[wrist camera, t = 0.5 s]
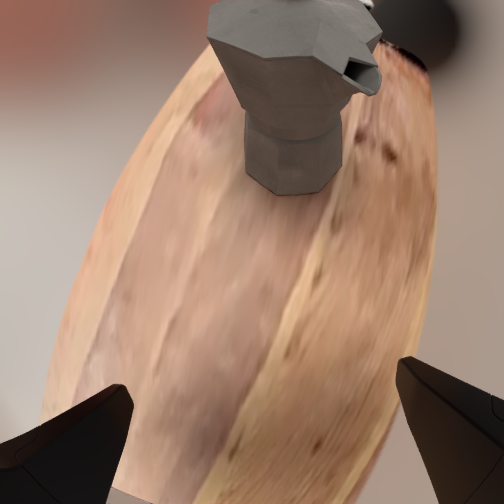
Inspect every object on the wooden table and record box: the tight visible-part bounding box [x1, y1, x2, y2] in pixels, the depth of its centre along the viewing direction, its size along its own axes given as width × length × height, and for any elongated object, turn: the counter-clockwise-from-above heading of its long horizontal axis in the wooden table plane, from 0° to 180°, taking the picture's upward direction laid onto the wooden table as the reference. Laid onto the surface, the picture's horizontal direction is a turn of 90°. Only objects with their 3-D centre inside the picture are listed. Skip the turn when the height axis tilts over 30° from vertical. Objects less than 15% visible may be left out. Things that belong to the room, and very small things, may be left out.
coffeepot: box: [207, 0, 382, 195], centre depth 17 cm, size 15×9×18 cm, turn 25°
